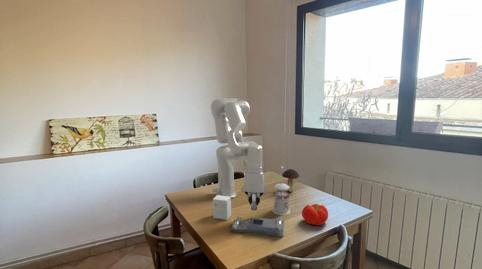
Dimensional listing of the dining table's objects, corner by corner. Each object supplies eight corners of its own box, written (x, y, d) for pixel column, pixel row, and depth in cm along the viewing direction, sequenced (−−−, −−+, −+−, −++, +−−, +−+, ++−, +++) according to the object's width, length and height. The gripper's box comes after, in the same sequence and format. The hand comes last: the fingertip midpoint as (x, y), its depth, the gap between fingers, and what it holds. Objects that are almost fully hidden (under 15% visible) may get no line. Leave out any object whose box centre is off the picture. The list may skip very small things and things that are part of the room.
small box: (231, 215, 142) (231, 196, 140) (227, 220, 136) (227, 200, 135) (217, 213, 144) (216, 194, 142) (213, 218, 139) (212, 198, 137)
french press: (270, 213, 143) (270, 168, 139) (275, 204, 154) (275, 162, 150) (288, 216, 140) (289, 169, 136) (292, 207, 151) (293, 163, 146)
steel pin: (250, 210, 137) (250, 192, 135) (251, 207, 140) (251, 189, 138) (256, 211, 136) (256, 192, 134) (257, 208, 139) (257, 190, 137)
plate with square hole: (230, 232, 125) (230, 221, 124) (235, 223, 133) (234, 212, 132) (283, 237, 120) (283, 226, 119) (283, 227, 129) (284, 216, 128)
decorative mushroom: (301, 190, 175) (301, 168, 172) (295, 196, 166) (296, 172, 163) (285, 187, 181) (285, 165, 178) (278, 192, 171) (279, 170, 169)
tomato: (306, 229, 126) (306, 212, 125) (299, 217, 139) (299, 201, 137) (332, 228, 127) (333, 211, 126) (323, 216, 139) (324, 200, 138)
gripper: (236, 170, 132) (236, 205, 135) (270, 173, 129) (269, 208, 132) (239, 166, 139) (239, 199, 142) (271, 168, 136) (270, 202, 139)
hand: (254, 203), depth 137 cm, fingers closed on steel pin, 3 cm apart
